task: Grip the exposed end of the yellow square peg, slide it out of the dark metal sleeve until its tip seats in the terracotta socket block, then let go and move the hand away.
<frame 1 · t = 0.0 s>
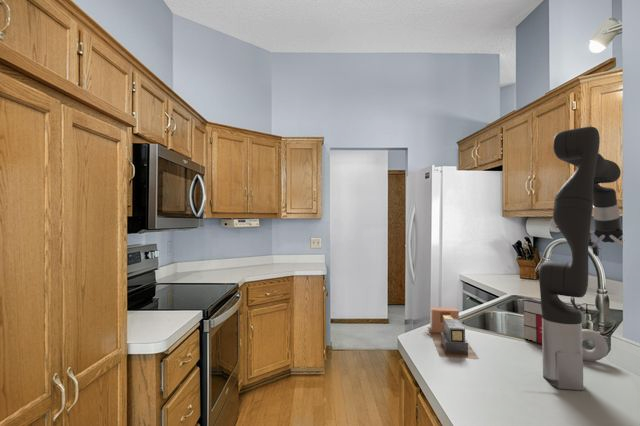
hand: (611, 256, 138), 31 cm above the worktop, tool tilted 20°, fingers open, 8 cm apart
socket block: (444, 330, 144), resting on base board
base board: (450, 344, 132), on the worktop
yellow square peg: (451, 326, 129), point 7 cm above the worktop, slide at 0.0 cm
grey and red box: (540, 343, 133), on the worktop
donut: (588, 361, 116), on the worktop
sleeve: (453, 348, 124), resting on base board
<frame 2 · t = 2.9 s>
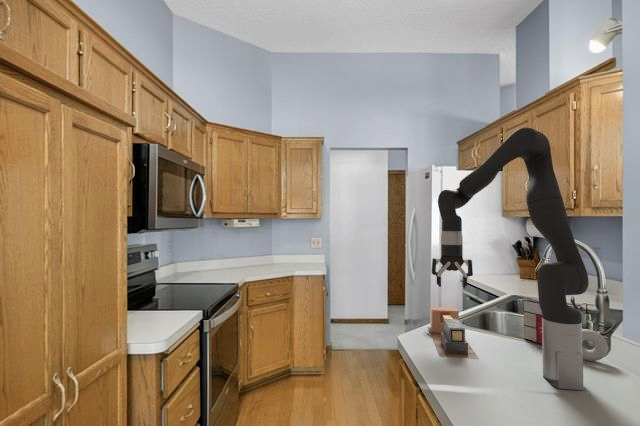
hand: (451, 286, 135), 20 cm above the worktop, tool pointing down, fingers open, 8 cm apart
nothing on the worktop moved.
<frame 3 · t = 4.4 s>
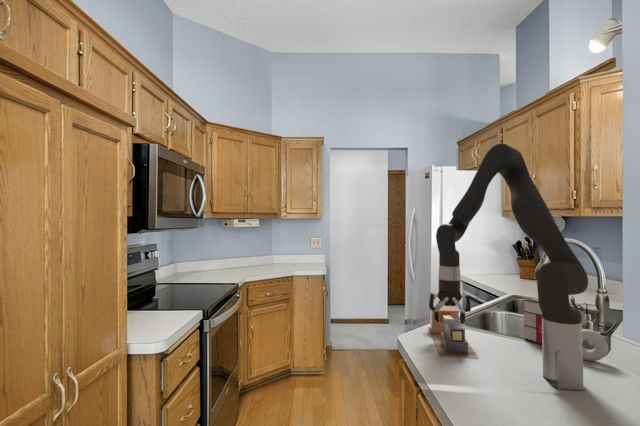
hand: (449, 322, 133), 8 cm above the worktop, tool pointing down, fingers open, 8 cm apart
nothing on the worktop moved.
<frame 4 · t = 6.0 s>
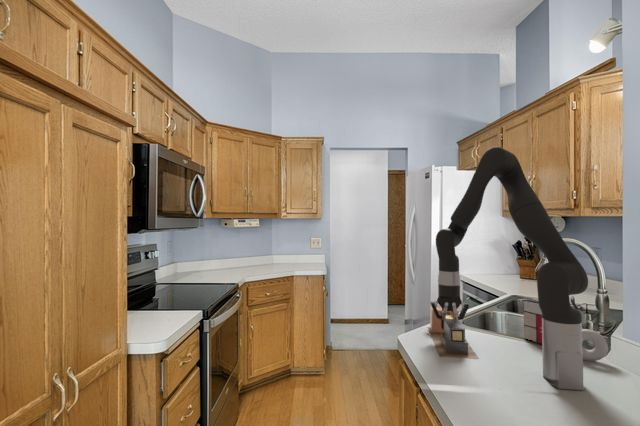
hand: (449, 330, 133), 5 cm above the worktop, tool pointing down, fingers closed on yellow square peg, 3 cm apart
yellow square peg: (451, 326, 129), point 7 cm above the worktop, slide at 0.0 cm, touching gripper
everything else where it was.
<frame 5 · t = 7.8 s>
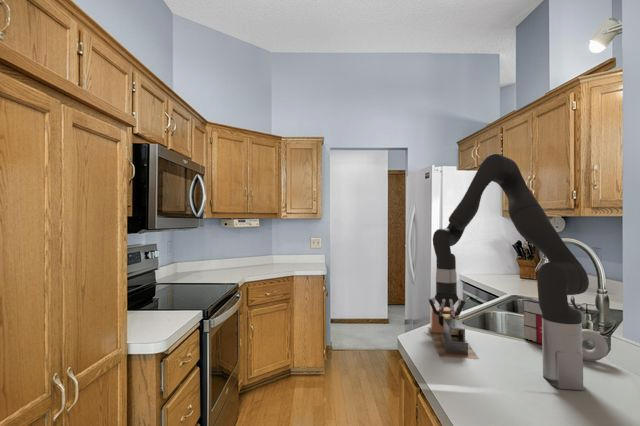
hand: (446, 325, 139), 5 cm above the worktop, tool pointing down, fingers closed on yellow square peg, 3 cm apart
yellow square peg: (448, 322, 135), point 7 cm above the worktop, slide at 6.0 cm, touching gripper, socket block
everything else where it was.
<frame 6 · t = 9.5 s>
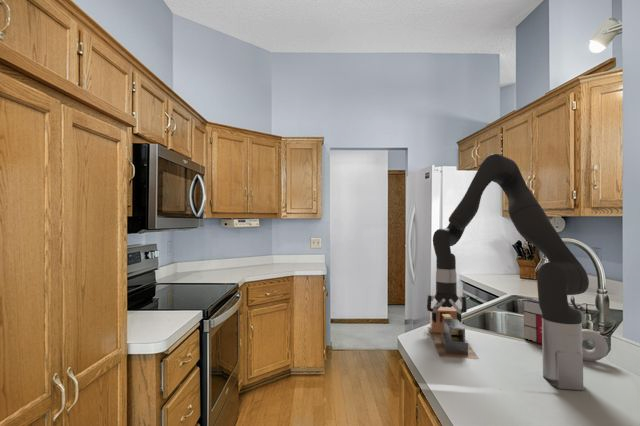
hand: (446, 322, 139), 6 cm above the worktop, tool pointing down, fingers open, 8 cm apart
yellow square peg: (448, 322, 135), point 7 cm above the worktop, slide at 6.0 cm, touching socket block
everything else where it was.
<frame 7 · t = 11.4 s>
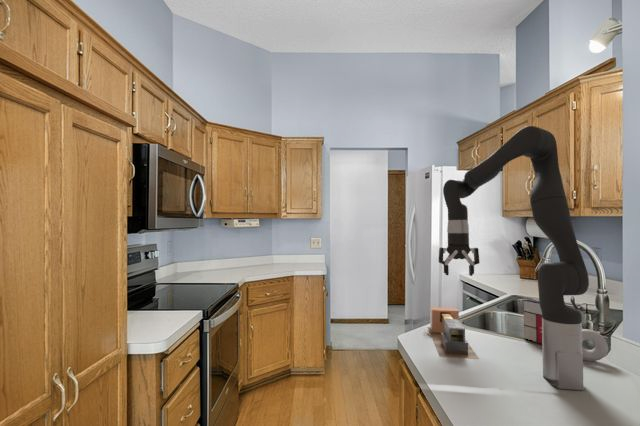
hand: (458, 275, 136), 24 cm above the worktop, tool pointing down, fingers open, 8 cm apart
nothing on the worktop moved.
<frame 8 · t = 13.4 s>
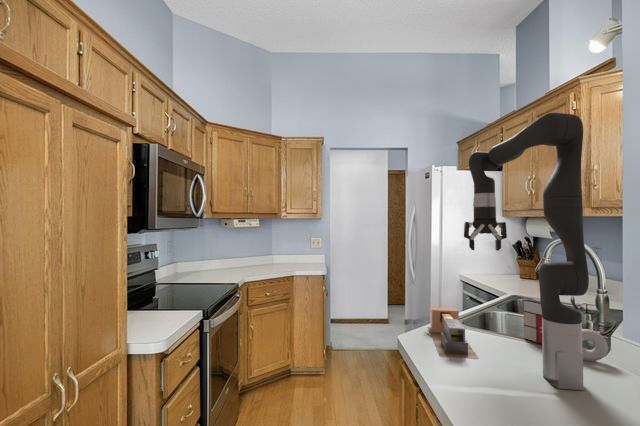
hand: (485, 250, 133), 34 cm above the worktop, tool pointing down, fingers open, 8 cm apart
nothing on the worktop moved.
at the end: yellow square peg slide at 6.0 cm; the gripper is holding nothing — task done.
